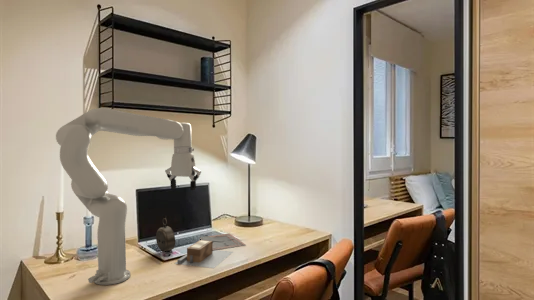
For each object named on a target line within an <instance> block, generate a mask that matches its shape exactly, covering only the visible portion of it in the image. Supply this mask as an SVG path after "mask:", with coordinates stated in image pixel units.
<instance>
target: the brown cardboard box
mask: <svg viewBox="0 0 534 300" xmlns="http://www.w3.org/2000/svg"><path fill="white" fill-rule="evenodd" d="M212 253H213V245H212V241H208V240H200V239H199V240H198V241H196V242H195V243H193V244H191V245H190V246H188V247H187V248H186V254H187V261H190V255H193V262H201V261H203V260H204V259H205V258H207V257H208V256H209V255H211V254H212Z"/></svg>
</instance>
